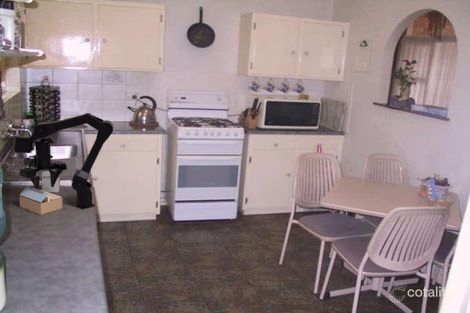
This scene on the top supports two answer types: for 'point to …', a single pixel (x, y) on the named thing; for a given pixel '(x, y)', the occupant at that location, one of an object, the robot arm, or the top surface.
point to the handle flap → (34, 194)
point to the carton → (42, 204)
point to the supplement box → (49, 183)
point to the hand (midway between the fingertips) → (44, 188)
